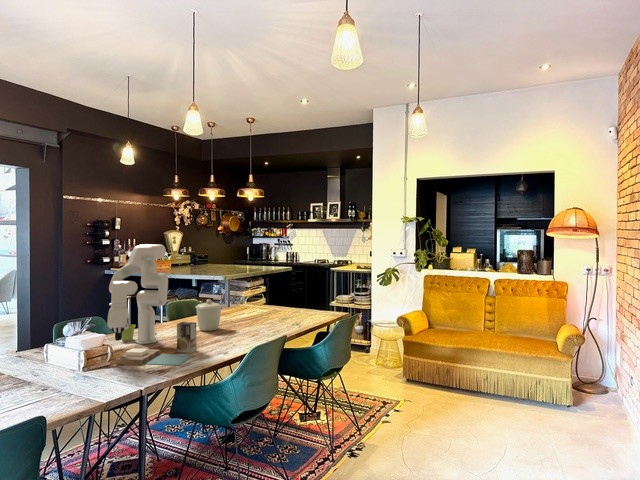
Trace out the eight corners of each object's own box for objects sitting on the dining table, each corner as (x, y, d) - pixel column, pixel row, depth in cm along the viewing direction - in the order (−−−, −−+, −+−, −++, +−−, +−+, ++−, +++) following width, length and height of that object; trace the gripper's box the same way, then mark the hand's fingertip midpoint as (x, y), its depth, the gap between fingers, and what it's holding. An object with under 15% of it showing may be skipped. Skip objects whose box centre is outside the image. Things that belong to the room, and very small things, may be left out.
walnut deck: (135, 353, 243) (135, 348, 243) (159, 354, 242) (159, 349, 242) (115, 363, 223) (115, 359, 223) (141, 364, 222) (141, 359, 222)
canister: (225, 327, 313) (225, 297, 313) (217, 332, 295) (217, 301, 295) (201, 326, 315) (201, 297, 314) (191, 332, 297) (191, 301, 296)
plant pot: (129, 342, 268) (129, 327, 268) (115, 341, 270) (115, 327, 270) (138, 338, 277) (138, 324, 277) (125, 337, 279) (125, 324, 279)
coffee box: (196, 350, 250) (197, 322, 250) (190, 353, 244) (190, 324, 244) (182, 349, 253) (183, 321, 253) (176, 352, 247) (176, 323, 246)
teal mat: (160, 354, 240) (160, 354, 240) (192, 355, 239) (192, 355, 239) (144, 364, 223) (144, 363, 223) (178, 365, 221) (178, 364, 221)
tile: (132, 352, 236) (132, 348, 236) (148, 352, 235) (148, 348, 235) (125, 355, 229) (125, 351, 229) (141, 356, 228) (141, 352, 228)
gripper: (101, 306, 230) (100, 341, 229) (128, 306, 228) (128, 342, 228) (109, 304, 237) (109, 338, 237) (136, 304, 236) (135, 339, 236)
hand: (118, 339), depth 232 cm, fingers closed
